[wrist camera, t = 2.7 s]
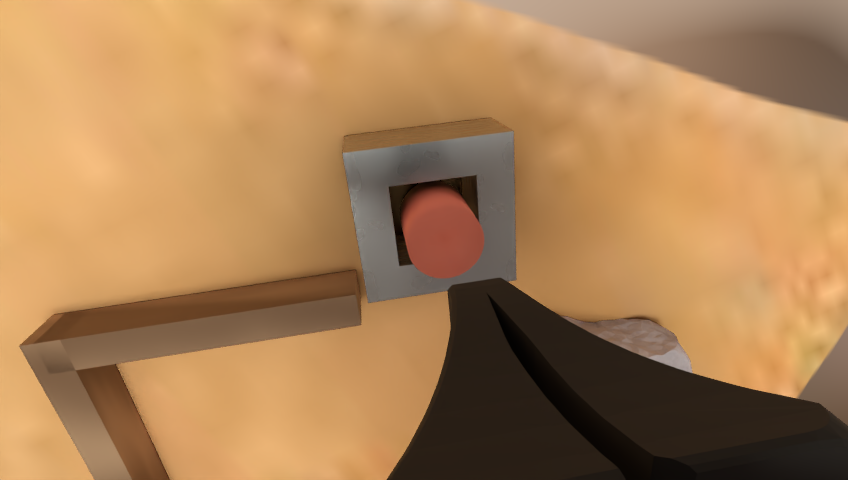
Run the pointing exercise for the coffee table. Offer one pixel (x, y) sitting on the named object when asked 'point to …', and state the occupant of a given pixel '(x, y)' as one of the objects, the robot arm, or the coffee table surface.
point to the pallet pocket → (162, 336)
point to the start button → (440, 230)
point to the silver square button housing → (421, 162)
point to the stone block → (640, 339)
